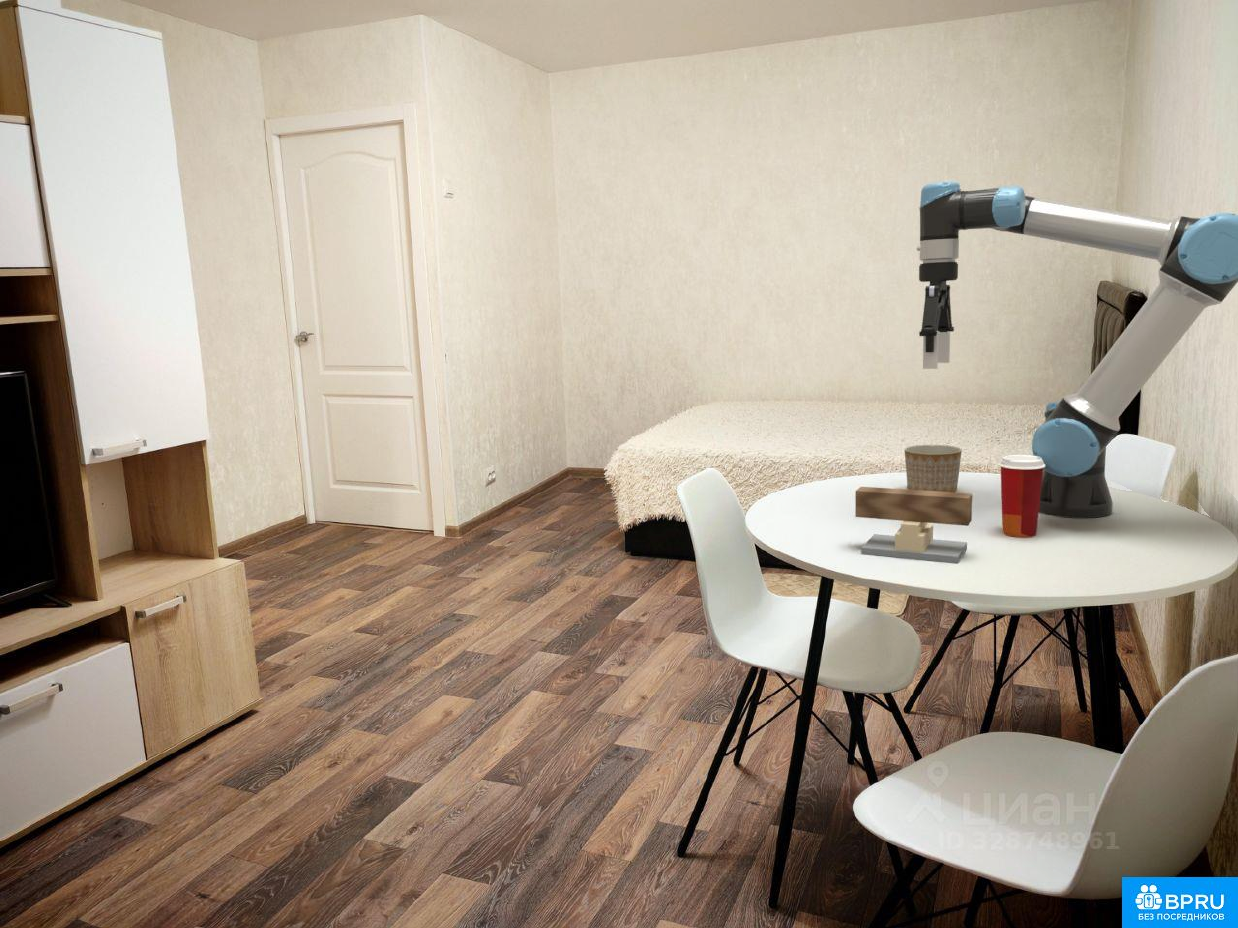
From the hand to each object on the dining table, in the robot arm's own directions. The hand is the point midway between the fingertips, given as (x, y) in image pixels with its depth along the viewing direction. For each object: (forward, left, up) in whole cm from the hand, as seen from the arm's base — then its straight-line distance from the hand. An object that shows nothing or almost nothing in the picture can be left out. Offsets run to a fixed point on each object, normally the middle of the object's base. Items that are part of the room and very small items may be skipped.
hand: (936, 365), depth 188 cm
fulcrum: (-2, +30, -32) cm, 44 cm away
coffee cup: (-18, +11, -32) cm, 38 cm away
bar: (-2, +30, -26) cm, 39 cm away
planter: (+4, -20, -32) cm, 38 cm away
